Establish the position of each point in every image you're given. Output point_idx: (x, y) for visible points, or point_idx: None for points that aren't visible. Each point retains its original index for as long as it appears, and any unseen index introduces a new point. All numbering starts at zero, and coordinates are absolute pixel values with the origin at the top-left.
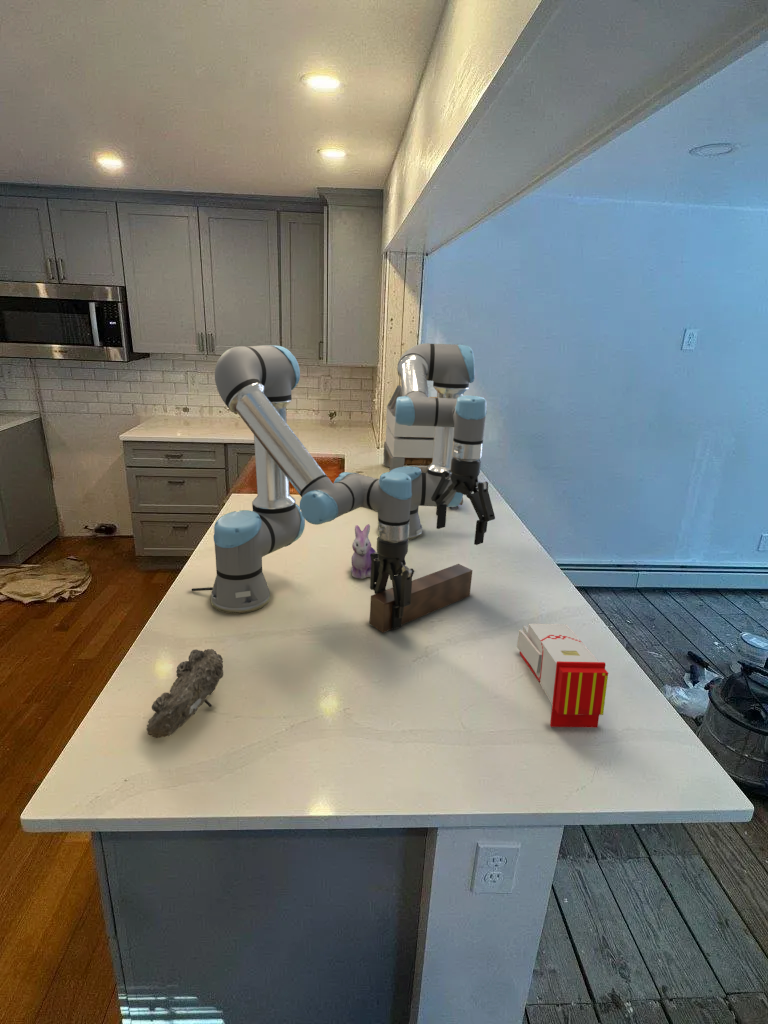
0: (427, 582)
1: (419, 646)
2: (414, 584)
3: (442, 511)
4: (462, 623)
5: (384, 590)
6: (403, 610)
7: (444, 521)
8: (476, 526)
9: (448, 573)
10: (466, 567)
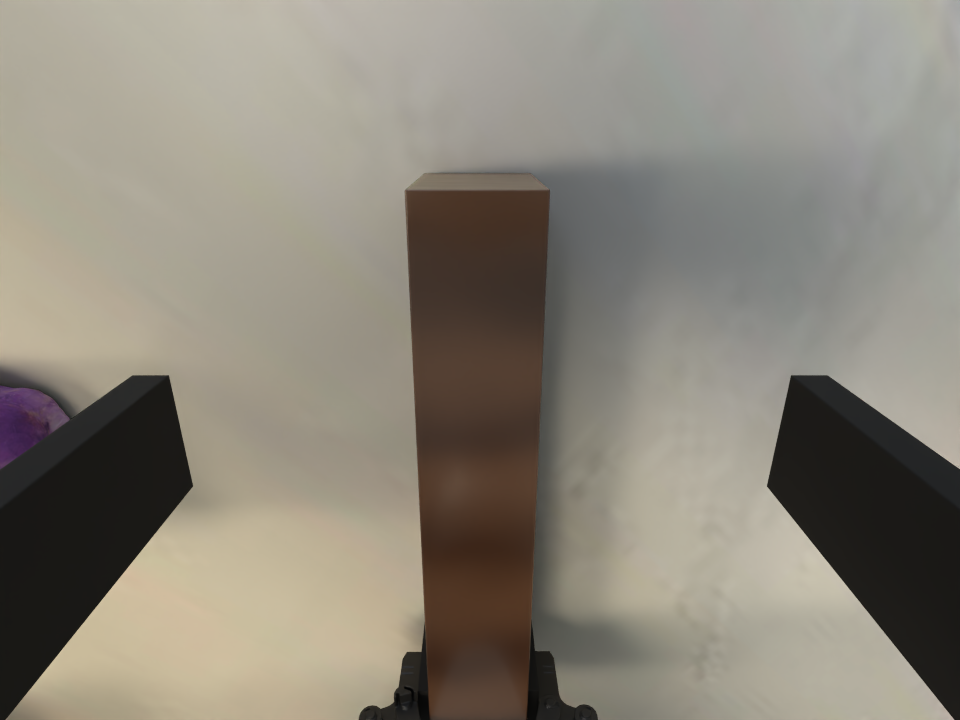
0: (491, 541)
1: (659, 622)
2: (466, 601)
3: (13, 623)
4: (676, 407)
5: (418, 709)
6: (556, 680)
7: (124, 435)
8: (936, 683)
9: (481, 370)
10: (490, 192)
